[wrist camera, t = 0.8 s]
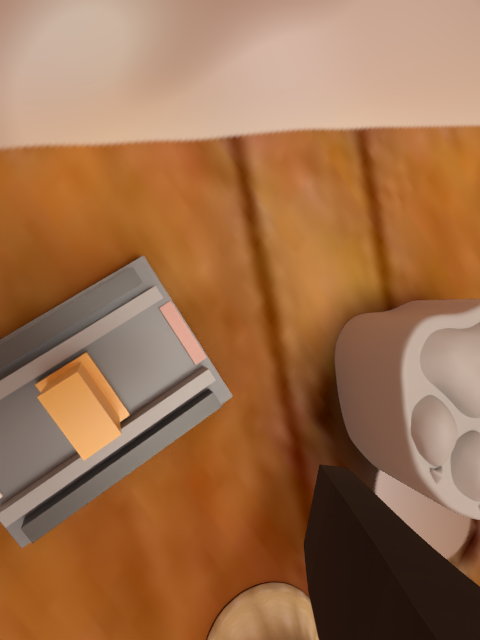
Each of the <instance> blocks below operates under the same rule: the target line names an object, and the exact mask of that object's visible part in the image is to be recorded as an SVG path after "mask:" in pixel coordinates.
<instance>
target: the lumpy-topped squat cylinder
mask: <svg viewBox="0 0 480 640" xmlns="http://www.w3.org/2000/svg"><path fill="white" fill-rule="evenodd" d="M335 370H336V380H337V389H338V396H339V401H340V406H341V411H342V415H343V419H344V423H345V426H346V429H347V432H348V435H349V437H350V439H351V440H352V442H353V443H354V444H355V446H356V447H357V448H358V449H359V451H360V452H361V453H362V454H363V455H364V456H365V457H366V458H367V459H368V460H369V461H370V462H371V463H372V464H373V465H374V466H375V467H377V468H378V469H380V470H382V471H383V472H385V473H387V474H388V475H390V476H392V477H394V478H395V479H397V480H399V481H400V482H402V483H404V484H406V485H407V486H409V487H411V488H412V489H414V490H416V491H418V492H420V493H421V494H423V495H425V496H426V497H428V498H430V499H432V500H433V501H435V502H437V503H439V504H440V505H442V506H444V507H446V508H447V509H449V510H451V511H453V512H455V513H457V514H460V515H463V516H465V517H469V518H473V519H478V520H480V299H449V300H415V301H411V302H408V303H405V304H403V305H401V306H399V307H397V308H394V309H392V310H389V311H384V312H372V313H364V314H360V315H357V316H355V317H353V318H351V319H350V320H349V321H348V322H347V323H346V324H345V326H344V327H343V329H342V330H341V332H340V334H339V337H338V340H337V343H336V348H335Z"/></svg>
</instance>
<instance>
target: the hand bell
mask: <svg viewBox="0 0 480 640" xmlns="http://www.w3.org/2000/svg"><path fill="white" fill-rule="evenodd" d="M207 640H319V638H318V634H317V629H316V625H315V620H314V615H313V611H312V606H311V601H310V599H309V597H308V596H307V595H305V594H304V593H303V592H302V591H301V590H299V589H298V588H296V587H294V586H292V585H289V584H286V583H277V582H271V583H264V584H260V585H257V586H254V587H252V588H250V589H248V590H246V591H244V592H242V593H241V594H239V595H238V596H237V597H235V598H234V599H233V600H232V601H231V602H230V603H229V604H228V605H227V606H226V607H225V608H224V609H223V610H222V612H221V613H220V614H219V616H218V617H217V619H216V621H215V622H214V625H213V626H212V628H211V631H210V633H209V636H208V639H207Z"/></svg>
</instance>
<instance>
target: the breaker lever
mask: <svg viewBox="0 0 480 640" xmlns="http://www.w3.org/2000/svg"><path fill="white" fill-rule="evenodd" d="M35 386H36V387H37V388H38V390H39V391H40V392H41V393H40V394H39V395H38V397H37V398H38V399H39V401H40V402H41V403H42V405H43V406H44V408H45V409H46V410H47V412H48V413H49V414H50V416H51V417H52V418H53V420H54V421H55V422H56V424H57V425H58V427H59V428H60V429H61V431H62V432H63V433H64V435H65V436H66V437H67V439H68V440H69V441H70V443H71V444H72V446H73V447H74V448H75V450H76V451H77V452H78V454H79V455H80V456H81V458H82V459H83V460H86V459H87V458H89V457H90V456H92V455H93V454H94V453H96V452H97V451H99V450H100V449H102V448H103V447H104V446H106V445H107V444H109V443H110V442H112V441H113V440H115V439H116V438H117V437H119V436H120V435H122V432H121V425H120V422H121V421H122V420H124V419H125V418H127V417H128V416H130V413H129V411H128V409H127V408H126V406H125V405H124V404H123V402H122V401H121V399H120V398H119V396H118V395H117V393H116V392H115V391H114V389H113V388H112V386H111V385H110V383H109V382H108V380H107V379H106V378H105V376H104V375H103V373H102V372H101V370H100V369H99V367H98V366H97V365H96V363H95V362H94V360H93V359H92V357H91V356H90V355H89V353H88V352H87V351H86V352H84V353H83V354H81V355H80V356H78V357H77V358H75V359H73V360H72V361H70V362H69V363H67V364H65V365H64V366H62V367H61V368H59V369H57V370H56V371H54V372H53V373H51V374H49V375H48V376H46V377H45V378H43V379H41V380H40V381H38V382H37V383H36V384H35Z"/></svg>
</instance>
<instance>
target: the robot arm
mask: <svg viewBox="0 0 480 640" xmlns="http://www.w3.org/2000/svg"><path fill="white" fill-rule="evenodd" d="M304 552H305V563H306V573H307V583H308V592H309V597H310V601H311V606H312V611H313V615H314V620H315V625H316V629H317V634H318V638H319V640H480V587H479V586H478V585H477V584H476V583H474V582H473V581H472V580H471V579H469V578H468V577H467V576H466V575H464V574H463V573H462V572H461V571H459V570H458V569H457V568H456V567H455V566H454V565H452V564H451V563H450V562H449V561H448V560H447V559H445V558H444V557H443V556H442V555H441V554H439V553H438V552H437V551H436V550H434V549H433V548H432V547H431V546H430V545H429V544H428V543H427V542H426V541H425V540H423V539H422V538H421V537H420V536H419V535H418V534H416V532H414V531H413V530H412V529H411V528H410V527H409V526H408V525H407V524H406V523H405V522H404V521H403V520H402V519H401V518H400V517H398V516H397V515H396V514H395V513H394V512H393V511H392V510H391V509H390V508H389V507H388V506H387V505H386V504H385V503H384V502H383V501H382V500H381V499H380V498H379V497H378V496H377V495H376V494H375V493H374V492H373V491H372V490H371V489H370V488H369V487H367V486H366V485H365V484H364V483H363V482H362V481H361V480H360V479H359V478H358V477H357V476H356V475H355V474H354V473H353V472H351V471H350V470H349V469H348V468H343V467H335V466H327V465H319V470H318V475H317V480H316V485H315V490H314V495H313V500H312V505H311V510H310V515H309V520H308V525H307V530H306V535H305V540H304Z"/></svg>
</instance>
